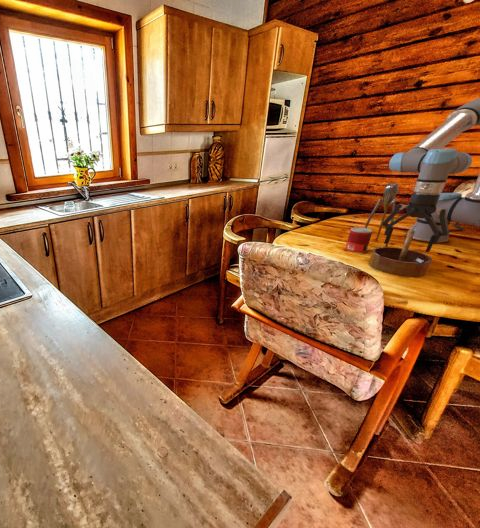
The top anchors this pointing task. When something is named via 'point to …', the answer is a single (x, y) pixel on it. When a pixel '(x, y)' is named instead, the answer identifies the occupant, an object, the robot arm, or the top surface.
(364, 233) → the canned food
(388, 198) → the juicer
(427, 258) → the bowl
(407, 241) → the wooden spoon
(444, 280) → the top surface
